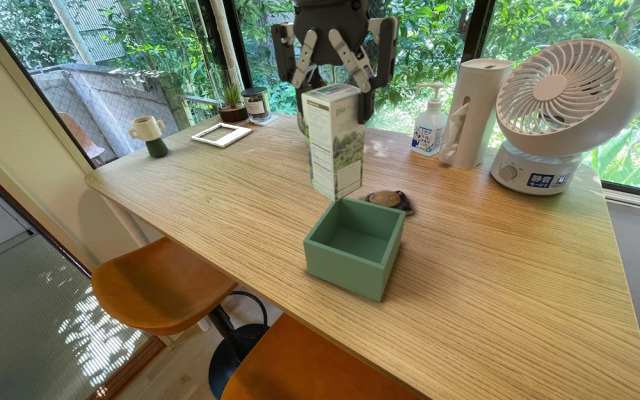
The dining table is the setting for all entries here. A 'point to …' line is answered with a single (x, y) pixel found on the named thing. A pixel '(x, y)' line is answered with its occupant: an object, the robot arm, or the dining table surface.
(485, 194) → the dining table surface
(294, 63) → the robot arm
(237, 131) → the photo frame
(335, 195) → the syrup box
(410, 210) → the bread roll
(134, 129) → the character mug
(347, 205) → the tote
